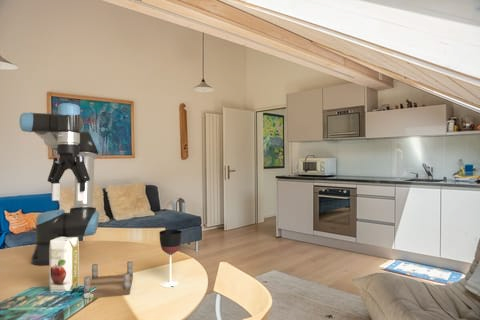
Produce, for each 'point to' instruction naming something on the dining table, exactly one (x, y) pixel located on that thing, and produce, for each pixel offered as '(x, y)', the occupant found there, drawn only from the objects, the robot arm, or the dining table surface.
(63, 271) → the juice carton
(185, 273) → the dining table surface
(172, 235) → the wineglass
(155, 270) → the dining table surface
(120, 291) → the peg plinth
